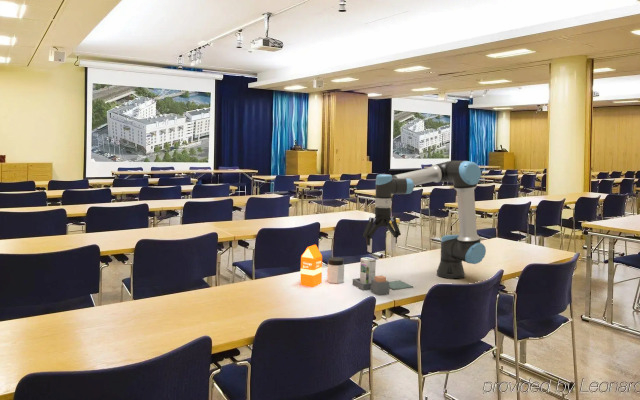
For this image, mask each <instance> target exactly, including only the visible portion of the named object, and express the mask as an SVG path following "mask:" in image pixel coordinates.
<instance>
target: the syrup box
mask: <svg viewBox="0 0 640 400" xmlns="http://www.w3.org/2000/svg"><path fill="white" fill-rule="evenodd" d="M359 266H360V270H359V271H360V272H359V278H360V282H362V283H364V284H367V283H371V281H372V280H374V279H375V276H376V269H377V267H376V266H377V260H376V258H373V257H367V256H366V257H364V256H363V257H361V258H360V265H359Z"/></svg>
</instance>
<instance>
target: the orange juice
mask: <svg viewBox="0 0 640 400" xmlns="http://www.w3.org/2000/svg"><path fill="white" fill-rule="evenodd" d="M322 273H323V255H322V253H321V252H320V250H319V248H318V246H317V244H312V245H310V246H307V247H306V249H305V251H304V252H303V253H302V254H301V256H300V286H305V287H310V288H315V287H318V284H319V285H321V284H322V280H323V279H322V278H323V274H322ZM320 283H321V284H320Z"/></svg>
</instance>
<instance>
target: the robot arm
mask: <svg viewBox="0 0 640 400" xmlns="http://www.w3.org/2000/svg"><path fill="white" fill-rule="evenodd" d="M481 177H482V171H481V167H479V165H478V164H477V163H476V162H474V161H468V160H448V161H443V162H439V163H437V164H433V165H431V166H430V167H426V168H422V169H418V170H413V171H408V172H404V173H403V172H402V173H398V174H394V175H391V174H382V173H380V174H377V175H376V177H375V199H374V200H375V201H374V206H375V208H374V217H371V216H369V218H368V222H367V224H366V227H365V230H364V232H363V234H362V237H363V238H365V240H366V241H365V242H366V243H365V245H366V247H367V250H366V251H367V252H369V253H372V251H373V238H372V237H373V236H374V235H375V233H376V231H377V230H378V229H379V228H381V227H386V229H388V231H389V232H390V234H391V235H392V236H391V240H390V243H391V244H390V250H391V251H394V252H395V251H396V244H397V243H398V238H399V236H401V231H400V227H399V226H398V222H397V216H394V215H393V216H391V215H392V214H391V213H392V209H391V206H392V195H407V194H409V195H410V194H411V193H412V192H414V187H415V186H419V185H423V184H427V183H432V182H433V183H437V184H438V183H441V182H443V183H445V182H446V183H452V184H453V186H452V187H453V189H454V190H455V191H456V198H457V199H456V200H457V211H458V214H457V215H458V226H459V234H445V235H443V236H442V237H441V241H440V260H439V264H438V267H437V269H436V276H437V275H438V276H437V277H439V276H441V277H440V278H443V277H445V278H444V279H448V278H461V279H464V278H465V277H464V276H465V274H466V273H465V269H464V266H463V262H464V263H466V264H472V265H476V264H479V263H480V262H482V261H483V259H484V258H485V256H486V252H487V249H486V246H485V245H484V243H482V242H481V236H479V234H478V233H477V231H478V230H477V215H476V202H475V201H476V200H475V190H476V188H477V187H478V183H480V180H481ZM390 222H391V223H390ZM463 277H464V278H463Z"/></svg>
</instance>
